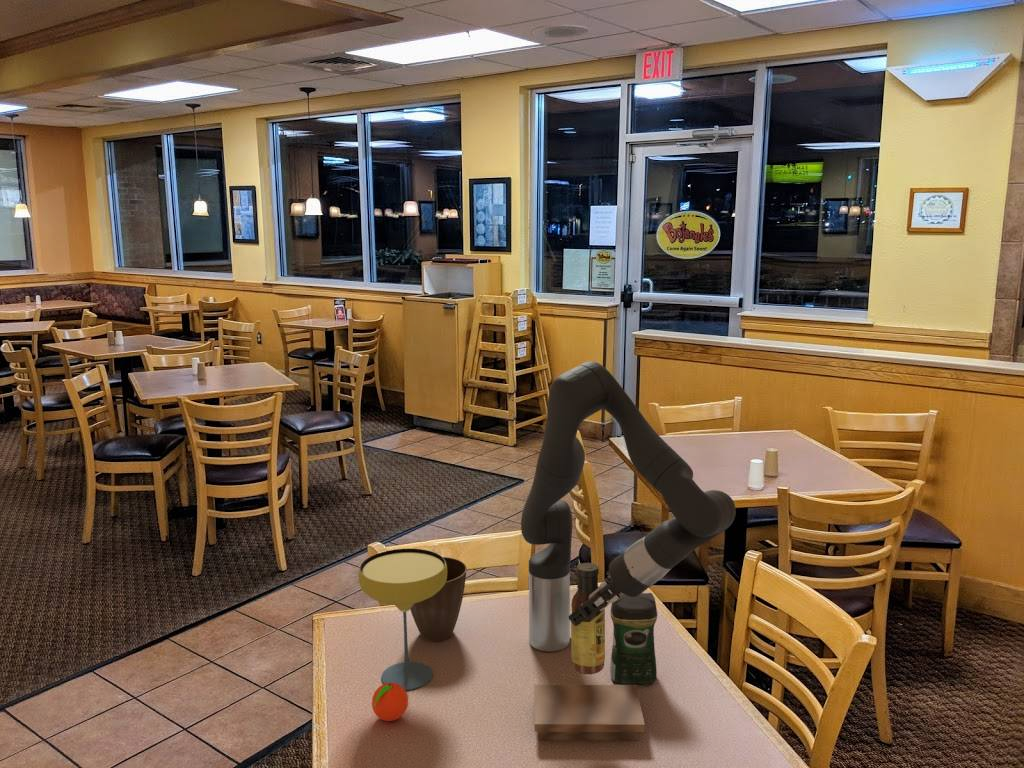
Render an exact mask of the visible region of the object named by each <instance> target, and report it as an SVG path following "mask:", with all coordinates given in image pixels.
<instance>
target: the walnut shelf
mask: <svg viewBox="0 0 1024 768" xmlns="http://www.w3.org/2000/svg"><path fill="white" fill-rule="evenodd" d="M533 694H534V695H533V696H534V697H533V698H534V699H533V700H534V701H533V704H534V705H533V706H534V708H533V709H534V710H533V711H534V712H533V713H534V717H533V718H534V722H533V723H534V732H536V733H537V732H538V733H539V741H548V742H549V741H551V742H555V741H557V740H559V741H564V742H565V741H567V742H569V741H570V742H572V741H575V742H580V741H582V742H586V741H587V742H592V741H593V742H595V741H596V742H597V741H598V742H600V741H601V742H610V741H611V742H626V741H627V742H638V741H639V733H645V732H646V731H645V730H646V723H645V719H644V716H643V715H644V714H643V711H642V707H641V702H640V698H639V694H638V690H637V686H636V685H619V684H533ZM620 740H622V741H620ZM625 740H626V741H625ZM630 740H631V741H630Z"/></svg>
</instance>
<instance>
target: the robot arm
mask: <svg viewBox="0 0 1024 768" xmlns="http://www.w3.org/2000/svg"><path fill="white" fill-rule="evenodd" d="M547 401H548V402H547V403H548V404H547V413H546V422H545V428H544V434H543V437H542V442H541V447H540V450H539V453H538V458H537V461H536V466H535V472H534V478H533V481H532V484H531V488H530V490H529V493H528V494H527V495H528V496H527V499H526V500H525V503H524V506H523V510H522V513H521V519H520V530H521V531H520V532H521V534H522V535H521V536H522V537H523V539H524V541H525V542H526V543H528V544H530V545H538V546H540V545H547V547H545V548H544V549H542V550H539V551H538V552H536V553H534V554H532V556H530V558H529V559H528V642H529V645H530V646H531V647H532V648H534V649H535V650H537V651H542V652H558V651H562V650H564V649H566V648H567V647H568V646H569V645H570V643H571V640H570V639H571V638H570V636H571V631H570V630H571V622H572V623H573V625H574V626H577V625H578V624H580V623H581V622H582V621H584V620H585V619H586V620H588V619H590V618H591V617H592V616H593V615H594V614H596V613H597V612H598V611H602V610H603V609H604V608H605V609H606V608H607V607H608V606H609V605H610V604H612V602H615V601H616V600H617V599H619V598H620V597H621V595H622V594H625V595H627V596H629V597H637V596H639V595H640V594H641V593H644V592H646V590H648V589H649V588H650V587H652V586H653V585H655V584H656V583H657V582H658V581H660V580H661V579H662V578H664V577H665V576H666V575H667V573H668V572H670V571H671V570H672V568H674V567H675V566H677V565H678V564H679V563H682V561H684V560H685V559H686V558H687V557H688V556H689V555H690V554H692V552H694V551H695V550H697V548H699V547H701V546H703V545H705V544H706V543H708V542H709V541H711V540H712V539H714V538H715V537H717V536H719V535H720V534H722V533H723V532H724V531H726V530H728V528H729V527H730V526H732V524H733V522H734V521H735V518H736V513H737V512H736V511H737V510H736V504H735V502H734V499H733V498H732V497H731V496H730V495H728V494H727V493H725V491H722V490H716V489H712V490H711V489H710V490H705V491H704V490H702V489H701V488H700V487H699V485H697V483H696V482H695V481H694V479H693V478H694V471H693V469H692V467H691V466H690V464H688V462H686V461H685V460H684V459H683V458H682V457H681V456H680V455H679V454H678V453H677V452H676V451H675V450H674V449H673V448H672V447H671V446H670V445H669V444H668V443H667V442H666V441H665V440H664V439H663V438H662V437H661V436H660V435H659V434H658V433H657V431H656V430H655V429H654V428H653V427H652V425H650V423H649V422H648V421H647V419H646V418H645V417H644V415H643V413H642V412H641V411H640V410H639V408H638V407H637V405H635V403H634V402H633V400H632V399H631V398H630V396H629V395H628V394H627V392H626V391H625V390H624V388H623V387H622V386H621V384H620V383H619V382H618V381H617V379H616V378H615V377H614V375H613V374H612V373H611V372H610V371H609V370H608V369H607V368H606V367H605V366H603V364H600V363H599V362H597V361H592V360H591V361H585V362H584V363H581V364H579V365H577V366H575V367H573V368H571V369H569V370H567V371H565V372H563V373H561V374H560V375H558V376H557V377H556V378H555V379H554V380H553V381H552V383H551V385H550V389H549V393H548V400H547ZM602 410H605V412H607V413H608V414H609V415H610V416H611V417H613V419H615V421H616V422H617V424H618V425H619V427H620V429H621V432H622V436H623V439H624V443H625V447H626V451H627V454H628V456H629V459H630V462H631V463H632V466H633V467H634V468H635V470H636V471H637V472H638V473H639V474H640V475H641V476H642V478H644V479H645V480H646V482H647V483H648V484H650V485H651V487H653V489H655V490H656V491H657V493H659V494H660V495H661V497H662V499H663V501H664V503H665V504H666V506H667V507H668V509H669V510H670V512H671V513H672V515H673V516H674V517H671V518H669V519H668V520H667V519H666V520H665V521H663V522H661V523H660V524H659V525H657V526H656V527H655V528H653V529H652V530H651V531H650V532H649V533H647V534H646V535H644V536H643V537H642V538H640V539H637V541H635V542H634V543H633V544H631V545H630V546H628V547H627V548H626V549H625V550H623V551H622V552H621V553H620V554H618V556H616V557H615V558H614V559H613V560H611V561H610V563H609V565H608V573H609V575H608V576H607V577H606V578H605V579H604V580H603V581H602V582H601V583H599V586H598V588H597V589H596V590H595V591H594V592H592V593H591V594H590V595H589V599H588V600H587V601H586V602H585V603H584V604H583V603H582V604H581V606H580V607H579V608H578V609H577V610H576V611H574V612H573V613H572V612H571V591H570V590H571V573H570V572H571V559H572V539H573V538H572V536H573V515H572V510H571V507H570V505H569V504H568V502H566V500H562V499H563V498H564V497H565V496H566V495H568V494H569V493H570V492H571V491H573V490H574V488H575V487H576V486H577V485H578V483H579V481H580V479H581V475H582V472H583V468H584V466H585V462H586V452H585V450H584V446H583V444H582V442H581V441H580V439H579V438H578V437H577V433H578V430H579V428H580V426H581V424H582V423H583V422H584V421H585V420H586V419H587V418H589V417H591V416H593V415H594V414H595V413H598V412H599V411H602ZM597 592H598V593H597Z"/></svg>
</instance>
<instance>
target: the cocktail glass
mask: <svg viewBox="0 0 1024 768" xmlns="http://www.w3.org/2000/svg"><path fill="white" fill-rule="evenodd" d="M443 557H444V556H442V555H440V554H438V553H436V552H434V551H431V550H428V549H427V550H426V549H422V548H398V549H391V550H385V551H381V552H379V553H376V554H373V555H370V556H369V557H367V558H366V559H364V561H362V562H361V564H360V566H359V569H358V583H359V587H360V590H362V592H363V593H364V594H365V595H366V596H368V597H369V598H371V599H372V600H374V601H377V602H379V603H383V604H387V605H391V606H392V605H393V606H395V607H396V608H397V609H398V611H400V612H401V613H402V615H403V616H402V618H403V639H404V641H403V643H404V644H403V646H404V647H403V648H404V649H403V650H404V658H403V659H404V661H402V662H398V663H395V664H392V665H390V666H389V667H387V668H386V669H384V671H383V672H382V674H381V676H380V679H381V682H382V685H383V684H385V683H396V684H399V685H400V686H402V687H403V688H404V689H405V691H412V690H416V689H420V688H422V687H424V686H426V685H427V684H428V683H429V682H431V681H432V678H433V674H434V672H433V670H432V668H431V667H430V666H429V665H427V664H426V663H422V662H418V661H410V659H409V647H408V627H407V626H408V625H407V624H408V623H407V620H408V619H407V612H408V611H411V610H410V608H411V607H412V606H413V604H415V603H418V602H421V601H423V600H426V599H428V598H430V597H432V596H433V595H435V594H436V593H437V592H438V591H439V590H441V588H442V587H443V586H444V585H445V582H446V580H447V565H446V561H445V560H444V558H443Z"/></svg>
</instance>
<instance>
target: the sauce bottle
mask: <svg viewBox="0 0 1024 768" xmlns="http://www.w3.org/2000/svg"><path fill="white" fill-rule="evenodd" d="M599 570H600V569H599V566H598V564H595V563H594V562H593V563H592V562H583V563H580V564H577V566H576V574H577V585H576V587H577V591H576V592H575V593H574V595H573V597H572V599H571V603H570V607H571V614H572V613H573V612H574V611H576V610H577V609H578V608H579V607H580V606H581V604H582V603H583V604H584V603H585V602H586V601H587V600H588V599H589V595H590V594H591V593H592V592H594V591H595V590H596V589H597V588H598V587H599V578H598V577H599V574H600V571H599ZM597 593H598V592H597ZM605 611H606V608H604V609H603V610H602V611H598V612H597V613H596V614H594V615H593V616H592V617H591V618H590V619H588V620H586V619H585V620H584V621H582V622H581V623H580V624H578V625H577V626H574V625H573V623H572V622H571V621H570V630H571V631H570V636H571V638H570V639H571V640H570V644H571V647H570V648H571V653H570V654H571V665H572V669H574V670H575V671H576V672H577V673H580V674H583V675H594V674H597V673H600V672H601V671H603V670H604V668H605V661H606V634H605V633H606V623H605V622H606V621H605V618H606V612H605Z"/></svg>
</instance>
